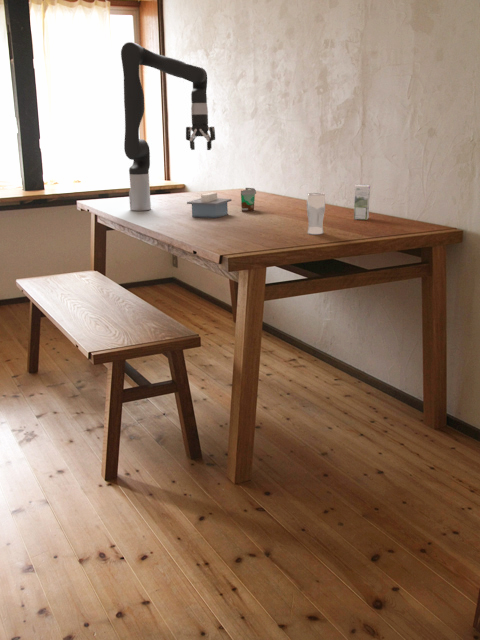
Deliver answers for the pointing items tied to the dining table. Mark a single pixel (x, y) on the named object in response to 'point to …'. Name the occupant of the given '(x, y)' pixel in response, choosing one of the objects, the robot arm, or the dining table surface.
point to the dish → (209, 210)
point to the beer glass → (315, 212)
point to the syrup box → (361, 202)
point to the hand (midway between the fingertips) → (200, 149)
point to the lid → (209, 200)
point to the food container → (248, 199)
